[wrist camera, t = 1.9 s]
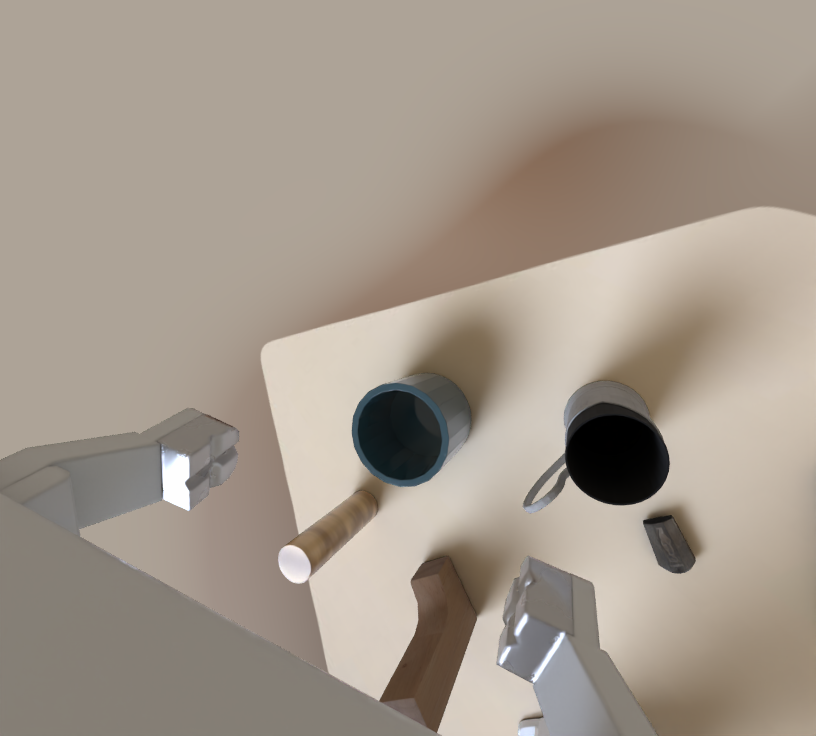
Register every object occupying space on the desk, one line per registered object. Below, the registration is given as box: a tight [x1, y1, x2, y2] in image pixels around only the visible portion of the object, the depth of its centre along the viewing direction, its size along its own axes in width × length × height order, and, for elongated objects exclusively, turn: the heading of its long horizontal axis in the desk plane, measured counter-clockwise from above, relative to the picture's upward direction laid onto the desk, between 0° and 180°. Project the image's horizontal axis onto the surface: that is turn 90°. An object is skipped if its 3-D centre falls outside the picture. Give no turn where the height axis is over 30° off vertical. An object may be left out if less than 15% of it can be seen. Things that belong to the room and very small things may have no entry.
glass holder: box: [523, 381, 670, 513], centre depth 41 cm, size 9×14×15 cm, turn 133°
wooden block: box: [379, 556, 477, 733], centre depth 48 cm, size 9×4×18 cm, turn 28°
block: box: [643, 515, 696, 574], centre depth 45 cm, size 4×6×2 cm, turn 27°
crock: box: [352, 373, 471, 487], centre depth 51 cm, size 12×12×10 cm
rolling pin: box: [278, 491, 377, 583], centre depth 53 cm, size 4×4×16 cm
